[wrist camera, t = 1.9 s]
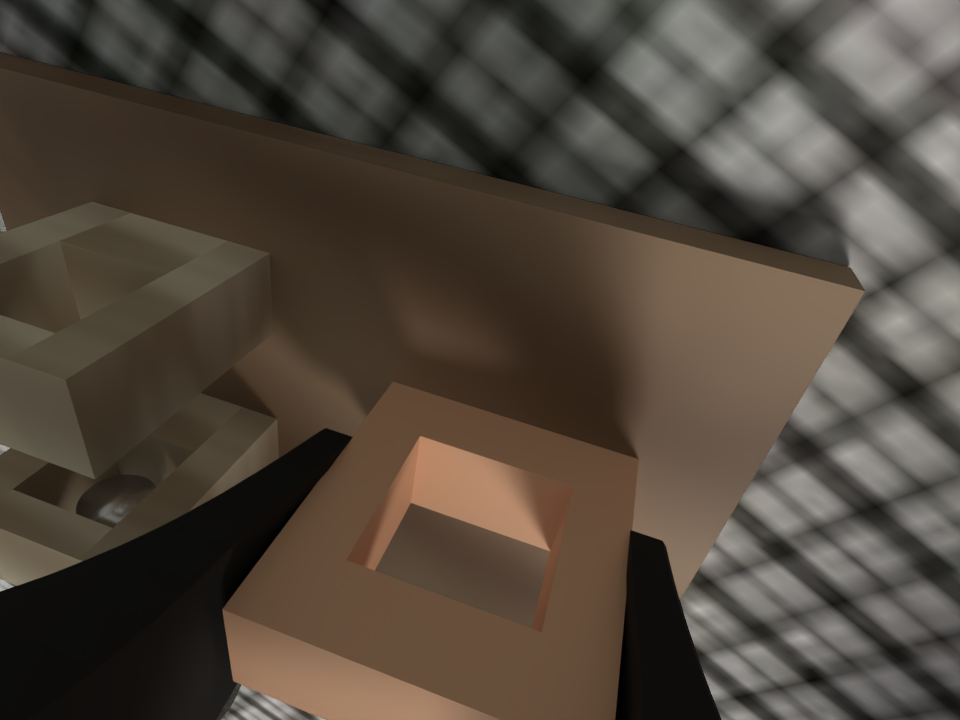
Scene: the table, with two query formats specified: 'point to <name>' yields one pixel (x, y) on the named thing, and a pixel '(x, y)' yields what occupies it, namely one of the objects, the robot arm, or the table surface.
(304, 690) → the spacer
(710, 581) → the table surface
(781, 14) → the table surface
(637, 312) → the cradle
